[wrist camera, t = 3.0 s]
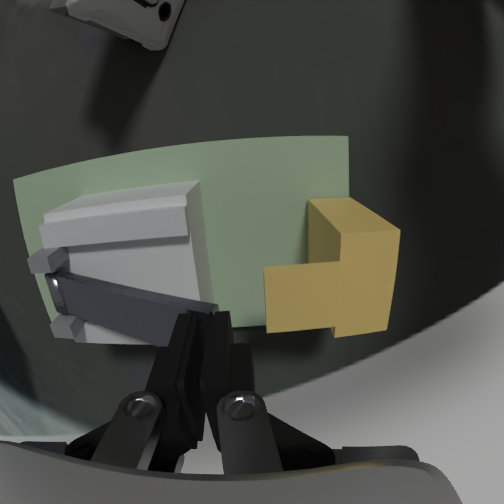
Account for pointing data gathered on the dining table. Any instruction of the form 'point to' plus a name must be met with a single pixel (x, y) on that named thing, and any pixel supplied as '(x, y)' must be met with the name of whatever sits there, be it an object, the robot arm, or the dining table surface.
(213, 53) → the dining table surface
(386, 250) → the clip
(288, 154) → the board
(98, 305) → the lever
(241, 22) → the dining table surface
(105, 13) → the electrical switch
